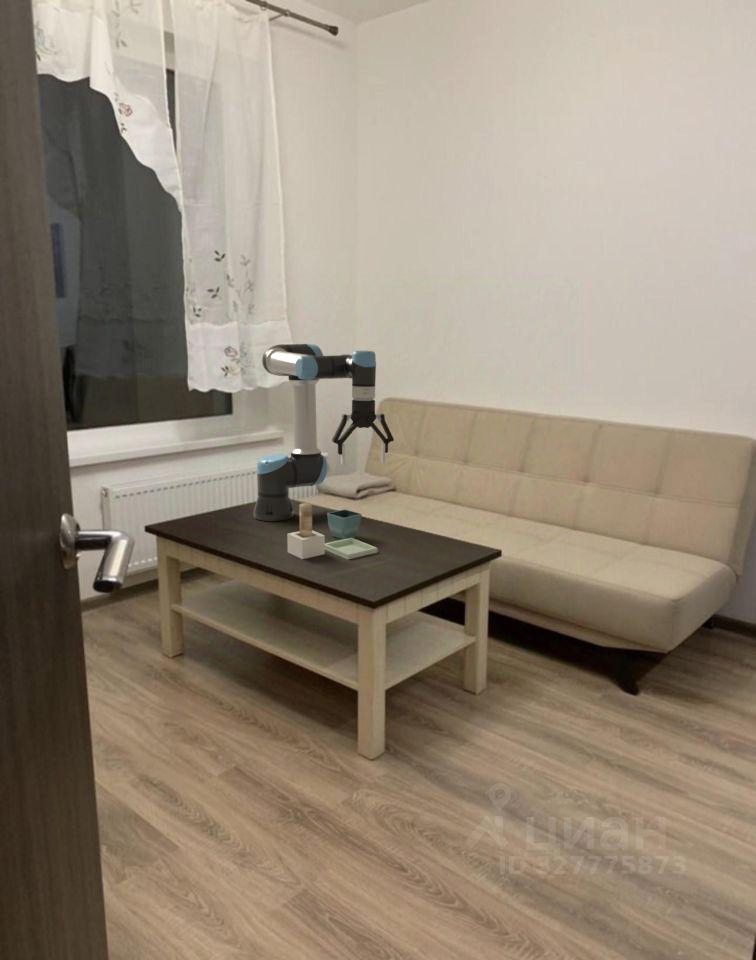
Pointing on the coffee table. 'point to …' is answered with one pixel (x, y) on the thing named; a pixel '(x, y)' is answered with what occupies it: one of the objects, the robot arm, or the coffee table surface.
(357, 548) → the tray
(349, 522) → the flower pot
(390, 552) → the coffee table surface
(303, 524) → the dowel
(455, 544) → the coffee table surface
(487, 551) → the coffee table surface
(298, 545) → the hollow block
